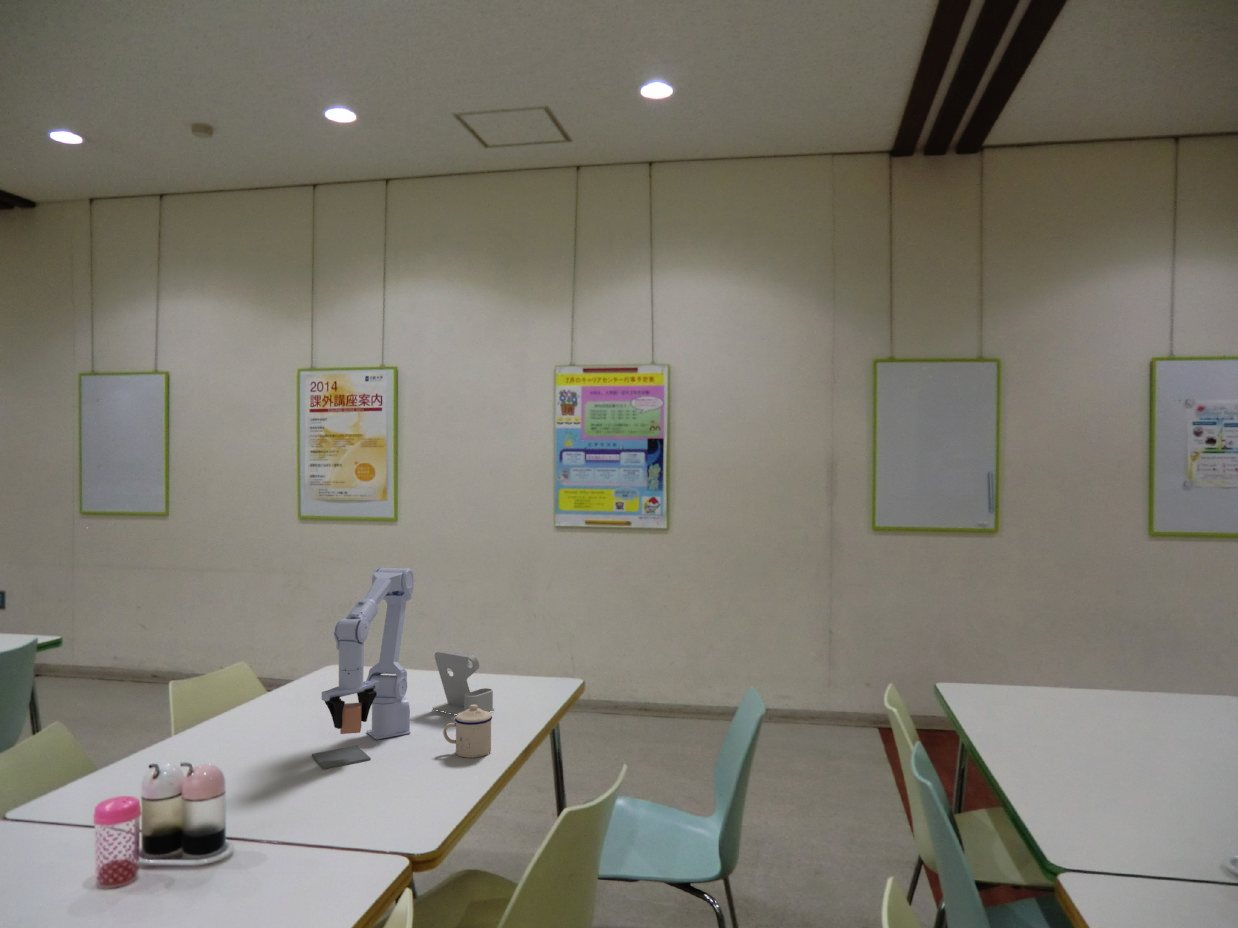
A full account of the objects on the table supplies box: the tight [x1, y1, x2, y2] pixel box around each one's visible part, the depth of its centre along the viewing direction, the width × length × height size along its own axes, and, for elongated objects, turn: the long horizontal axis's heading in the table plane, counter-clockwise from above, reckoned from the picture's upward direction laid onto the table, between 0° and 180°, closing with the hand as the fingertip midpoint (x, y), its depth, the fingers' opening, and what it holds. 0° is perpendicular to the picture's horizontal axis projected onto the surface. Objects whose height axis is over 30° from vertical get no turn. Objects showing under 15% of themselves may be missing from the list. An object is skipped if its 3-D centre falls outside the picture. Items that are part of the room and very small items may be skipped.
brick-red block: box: [339, 702, 363, 735], centre depth 190 cm, size 4×4×6 cm
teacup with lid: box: [442, 704, 493, 759], centre depth 195 cm, size 12×9×12 cm
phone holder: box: [432, 648, 495, 715], centre depth 230 cm, size 17×10×18 cm, turn 56°
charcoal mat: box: [311, 745, 371, 770], centre depth 190 cm, size 11×11×1 cm
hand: (350, 724), depth 190 cm, fingers closed on brick-red block, 6 cm apart
